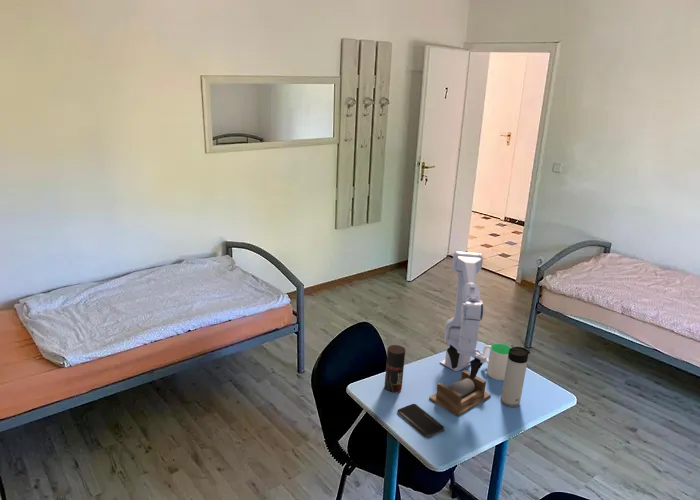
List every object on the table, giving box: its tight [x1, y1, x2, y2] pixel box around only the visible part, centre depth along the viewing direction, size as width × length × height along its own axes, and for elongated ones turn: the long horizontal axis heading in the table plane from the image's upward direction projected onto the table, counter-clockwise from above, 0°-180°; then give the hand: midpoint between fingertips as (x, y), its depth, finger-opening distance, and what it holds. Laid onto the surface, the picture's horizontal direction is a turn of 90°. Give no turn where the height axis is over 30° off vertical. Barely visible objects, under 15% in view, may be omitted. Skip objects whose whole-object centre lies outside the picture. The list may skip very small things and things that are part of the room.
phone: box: [396, 403, 445, 438], centre depth 174 cm, size 8×1×15 cm
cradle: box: [428, 369, 491, 417], centre depth 186 cm, size 18×12×6 cm, turn 132°
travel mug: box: [500, 346, 531, 408], centre depth 183 cm, size 6×7×20 cm
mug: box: [482, 342, 512, 381], centre depth 203 cm, size 12×8×10 cm, turn 36°
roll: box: [450, 378, 475, 398], centre depth 186 cm, size 9×5×5 cm, turn 132°
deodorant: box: [384, 344, 406, 394], centre depth 188 cm, size 6×6×15 cm
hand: (463, 372), depth 184 cm, fingers open, 7 cm apart
